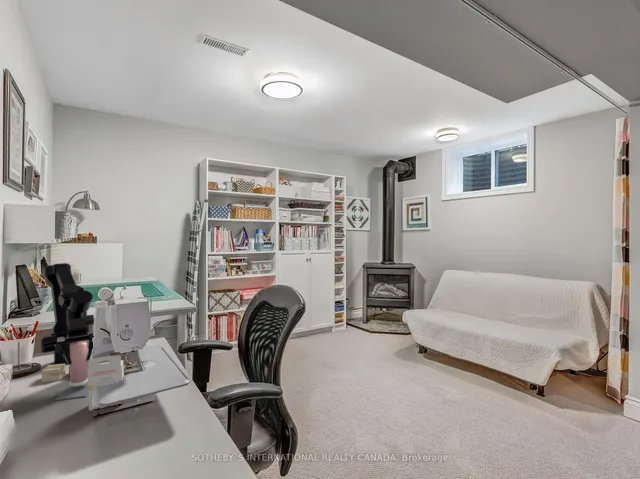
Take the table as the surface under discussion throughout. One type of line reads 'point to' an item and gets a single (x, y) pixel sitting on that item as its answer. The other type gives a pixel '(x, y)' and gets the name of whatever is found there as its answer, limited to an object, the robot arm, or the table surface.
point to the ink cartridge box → (103, 373)
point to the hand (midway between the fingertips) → (79, 362)
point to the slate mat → (73, 392)
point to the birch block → (53, 372)
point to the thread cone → (78, 364)
